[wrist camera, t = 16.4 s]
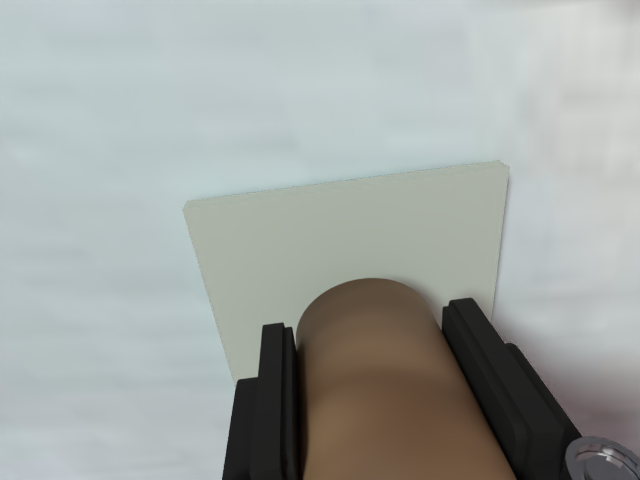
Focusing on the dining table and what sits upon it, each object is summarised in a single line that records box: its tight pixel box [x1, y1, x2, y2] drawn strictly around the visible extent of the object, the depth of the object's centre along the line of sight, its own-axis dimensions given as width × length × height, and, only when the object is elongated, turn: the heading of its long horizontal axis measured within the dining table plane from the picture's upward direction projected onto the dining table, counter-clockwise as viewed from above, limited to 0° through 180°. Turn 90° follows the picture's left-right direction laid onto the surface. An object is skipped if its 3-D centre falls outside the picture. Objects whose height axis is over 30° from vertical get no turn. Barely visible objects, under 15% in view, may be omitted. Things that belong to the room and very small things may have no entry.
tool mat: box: [182, 161, 509, 388], centre depth 13 cm, size 9×8×1 cm
